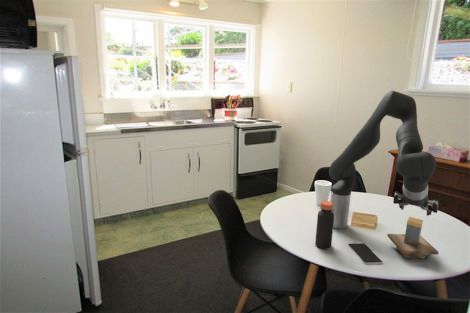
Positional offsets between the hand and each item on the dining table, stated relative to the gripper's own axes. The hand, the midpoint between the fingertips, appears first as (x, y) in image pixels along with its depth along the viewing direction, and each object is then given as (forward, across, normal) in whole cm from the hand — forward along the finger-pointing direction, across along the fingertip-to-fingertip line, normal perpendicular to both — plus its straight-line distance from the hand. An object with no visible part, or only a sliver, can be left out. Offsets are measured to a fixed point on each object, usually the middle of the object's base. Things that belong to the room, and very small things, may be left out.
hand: (415, 210), depth 118 cm
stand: (+23, 0, +9) cm, 25 cm away
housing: (+19, 0, +6) cm, 20 cm away
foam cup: (+42, +50, -10) cm, 66 cm away
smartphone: (+14, +15, +19) cm, 28 cm away
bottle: (+10, +31, +22) cm, 40 cm away
